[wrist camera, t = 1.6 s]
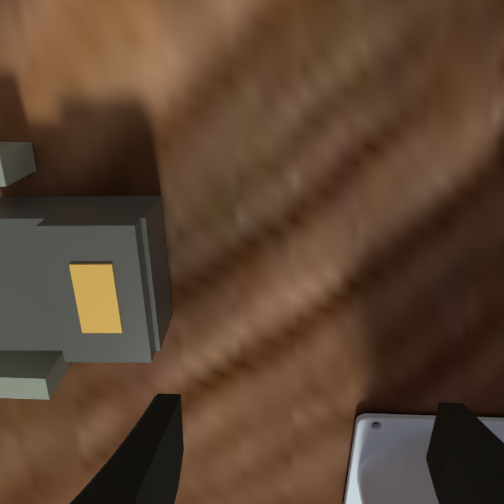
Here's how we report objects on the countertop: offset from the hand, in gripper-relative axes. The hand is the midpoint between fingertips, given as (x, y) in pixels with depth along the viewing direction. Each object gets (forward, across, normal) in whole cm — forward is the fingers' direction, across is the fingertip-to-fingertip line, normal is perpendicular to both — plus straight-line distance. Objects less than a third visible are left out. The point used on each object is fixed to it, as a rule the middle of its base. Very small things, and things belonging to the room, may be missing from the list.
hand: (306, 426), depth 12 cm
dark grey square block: (+10, +9, 0) cm, 13 cm away
